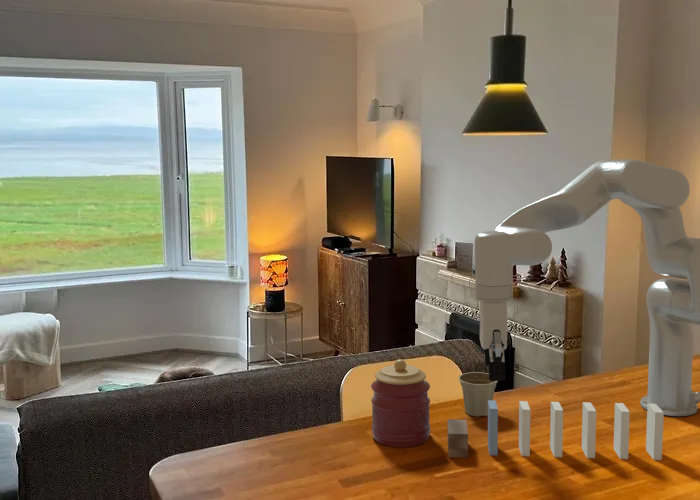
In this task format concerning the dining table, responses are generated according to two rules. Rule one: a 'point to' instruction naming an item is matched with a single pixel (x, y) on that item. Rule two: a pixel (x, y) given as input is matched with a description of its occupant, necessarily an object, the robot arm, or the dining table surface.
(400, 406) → the canister
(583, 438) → the tile
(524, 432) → the tile
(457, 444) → the end block
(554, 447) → the tile
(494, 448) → the tile
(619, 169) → the robot arm
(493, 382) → the flower pot
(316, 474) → the dining table surface
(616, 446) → the tile
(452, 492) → the dining table surface
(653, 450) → the tile
